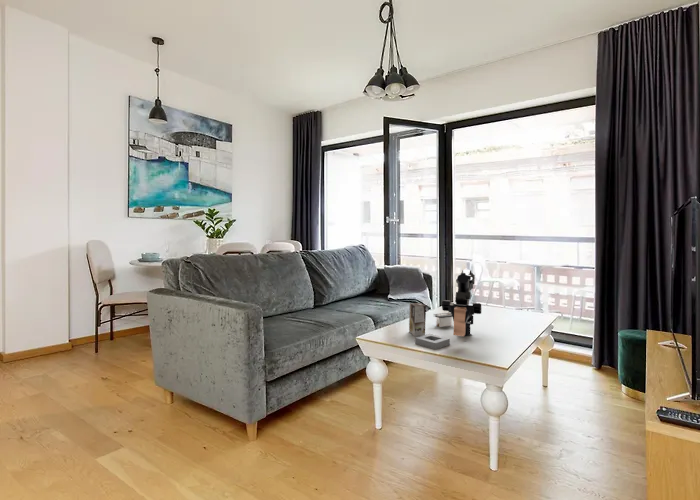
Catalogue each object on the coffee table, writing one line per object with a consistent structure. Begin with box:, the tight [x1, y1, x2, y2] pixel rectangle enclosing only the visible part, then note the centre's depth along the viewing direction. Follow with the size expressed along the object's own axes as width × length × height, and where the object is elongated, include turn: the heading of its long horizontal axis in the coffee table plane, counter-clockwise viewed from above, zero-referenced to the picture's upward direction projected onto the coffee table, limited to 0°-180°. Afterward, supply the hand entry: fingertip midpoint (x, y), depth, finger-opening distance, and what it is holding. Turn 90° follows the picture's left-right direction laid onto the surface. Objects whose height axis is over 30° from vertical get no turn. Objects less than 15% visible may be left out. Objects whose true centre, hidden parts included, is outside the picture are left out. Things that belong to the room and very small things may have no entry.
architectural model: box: [433, 312, 453, 328], centre depth 234 cm, size 20×25×10 cm
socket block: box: [414, 333, 451, 350], centre depth 196 cm, size 12×12×3 cm
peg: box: [453, 307, 466, 337], centre depth 193 cm, size 5×5×13 cm
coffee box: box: [408, 302, 427, 337], centre depth 215 cm, size 9×6×16 cm
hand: (459, 321), depth 192 cm, fingers closed on peg, 5 cm apart
